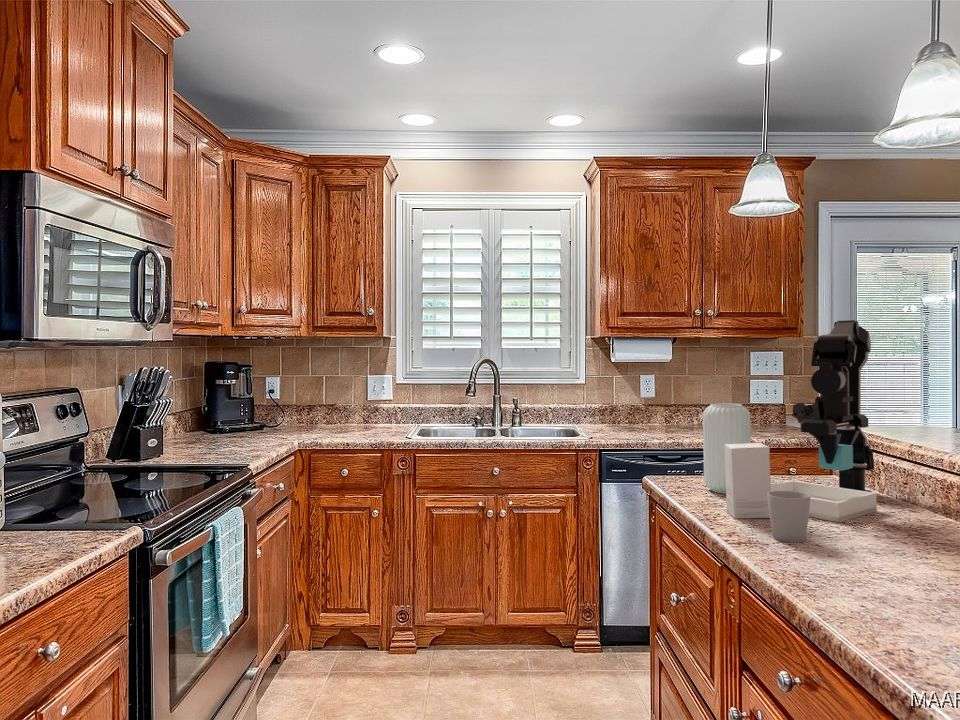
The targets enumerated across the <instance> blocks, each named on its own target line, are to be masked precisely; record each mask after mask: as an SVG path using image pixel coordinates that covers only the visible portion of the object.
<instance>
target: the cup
mask: <svg viewBox="0 0 960 720" xmlns="http://www.w3.org/2000/svg"><path fill="white" fill-rule="evenodd" d="M767 498H768V506H769V514H770V518H769V521H770V525H771V531H772V537H773V538H774V539H775V540H778V541H781V542H785V543H801V542H802V543H803V542H804V541H805V540H806V538H807V531H808V523H809V518H810V517H809V507H810V495H809V494H806V493H802V492H796V491H771V492H768V493H767Z"/></svg>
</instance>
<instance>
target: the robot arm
mask: <svg viewBox="0 0 960 720" xmlns="http://www.w3.org/2000/svg"><path fill="white" fill-rule="evenodd" d="M871 351H872V340H871V336H870V332H869V331H868V330H866V329H865V328H863V327H862V326H860V325H859V321H858V320H855V319H850V320H849V319H848V320H846V319H845V320H837V321H835V322H834V323H833V328H832V329H831V331H830V332H829V334H822V335H819V336H818V337H817V338H816V340H814V342H813V349H812V355H811V365H810V366H811V367H818V369H817V370H816V371H815V372H813V374H812V376H811V377H810V378H811V379H810V382H811V386H812V388H813V390H814V391H816V392H817V393H818V394H819V396H816V397H814V398H815V399H814V403H812V404H807V405H806V404H805V403H804V402H798V403H795V404H792V414H791V416H792V418H795V419H796V420H797V422H798V424H800V432H801V433H808V434H809V435H810V436H812V437H814V438H815V439H816V440H817V441H818V443H819V445H820V446H821V449H822V451H823V454H824V457H825V460H826V463H828V464H832V463H833V460H834V457H835V454H836V451H837V447H838V444H844V445H853V468H851V469H847V470H843V471H840V470H838V487H840V488H846V489H853V490H859V491H866V492H872V493H873V491H872V490H871V489H870V490H869V489H866V471H874V470H875V458H874V451H872V448H871V446H870V445H868V443H869V442H868V441H869V440H868V438H867V436H866V435H865V433H864V432H863V430H862V429H863V428H864V429H865V428H869V418H868V417H867V416H866V414H864V413H863V414H862V413H861V408H862V407H861V404H862V403H861V398H862V397H861V389H862V387H861V381H862V380H861V379H862V377H861V375H862V374H861V373H862V369H863V368H864V367H865V365H866V364H867V362H868V360H869V354H870V353H871ZM861 428H862V429H861Z"/></svg>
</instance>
